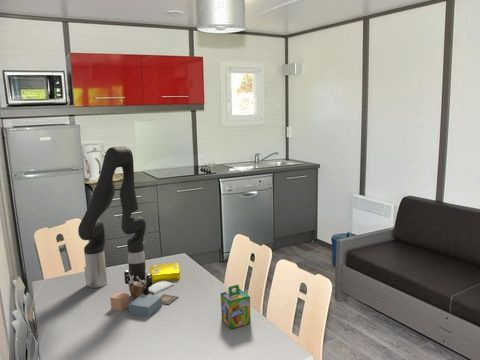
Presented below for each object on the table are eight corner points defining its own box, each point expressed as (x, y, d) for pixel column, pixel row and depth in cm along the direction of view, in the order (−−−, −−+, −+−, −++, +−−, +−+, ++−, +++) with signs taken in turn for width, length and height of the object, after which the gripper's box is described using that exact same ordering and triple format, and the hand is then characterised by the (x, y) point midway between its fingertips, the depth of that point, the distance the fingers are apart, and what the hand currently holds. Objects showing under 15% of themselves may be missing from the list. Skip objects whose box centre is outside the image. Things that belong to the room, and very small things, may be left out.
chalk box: (230, 329, 160) (229, 293, 158) (220, 319, 168) (219, 285, 166) (251, 323, 164) (250, 288, 162) (241, 314, 172) (239, 280, 170)
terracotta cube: (111, 309, 181) (110, 297, 180) (119, 303, 186) (118, 292, 185) (121, 311, 179) (120, 299, 178) (129, 305, 184) (128, 294, 183)
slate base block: (129, 314, 176) (128, 304, 176) (142, 303, 186) (141, 294, 185) (149, 317, 173) (148, 307, 172) (162, 306, 182) (161, 297, 181)
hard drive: (154, 292, 194) (173, 283, 203) (142, 288, 199) (162, 279, 209) (154, 295, 194) (174, 286, 204) (143, 291, 199) (162, 282, 209)
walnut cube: (131, 298, 191) (130, 286, 191) (138, 293, 196) (137, 282, 195) (140, 299, 189) (139, 288, 188) (148, 294, 194) (147, 283, 193)
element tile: (180, 280, 211) (179, 271, 210) (150, 283, 208) (149, 274, 207) (178, 269, 225) (178, 261, 224) (150, 272, 222) (149, 264, 221)
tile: (153, 302, 186) (153, 301, 186) (163, 294, 193) (163, 293, 193) (168, 305, 183) (168, 304, 183) (178, 297, 190) (178, 296, 190)
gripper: (118, 261, 189) (121, 295, 192) (144, 264, 184) (147, 299, 186) (129, 255, 196) (132, 288, 199) (154, 259, 190) (157, 292, 193)
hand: (139, 293), depth 193 cm, fingers open, 7 cm apart
